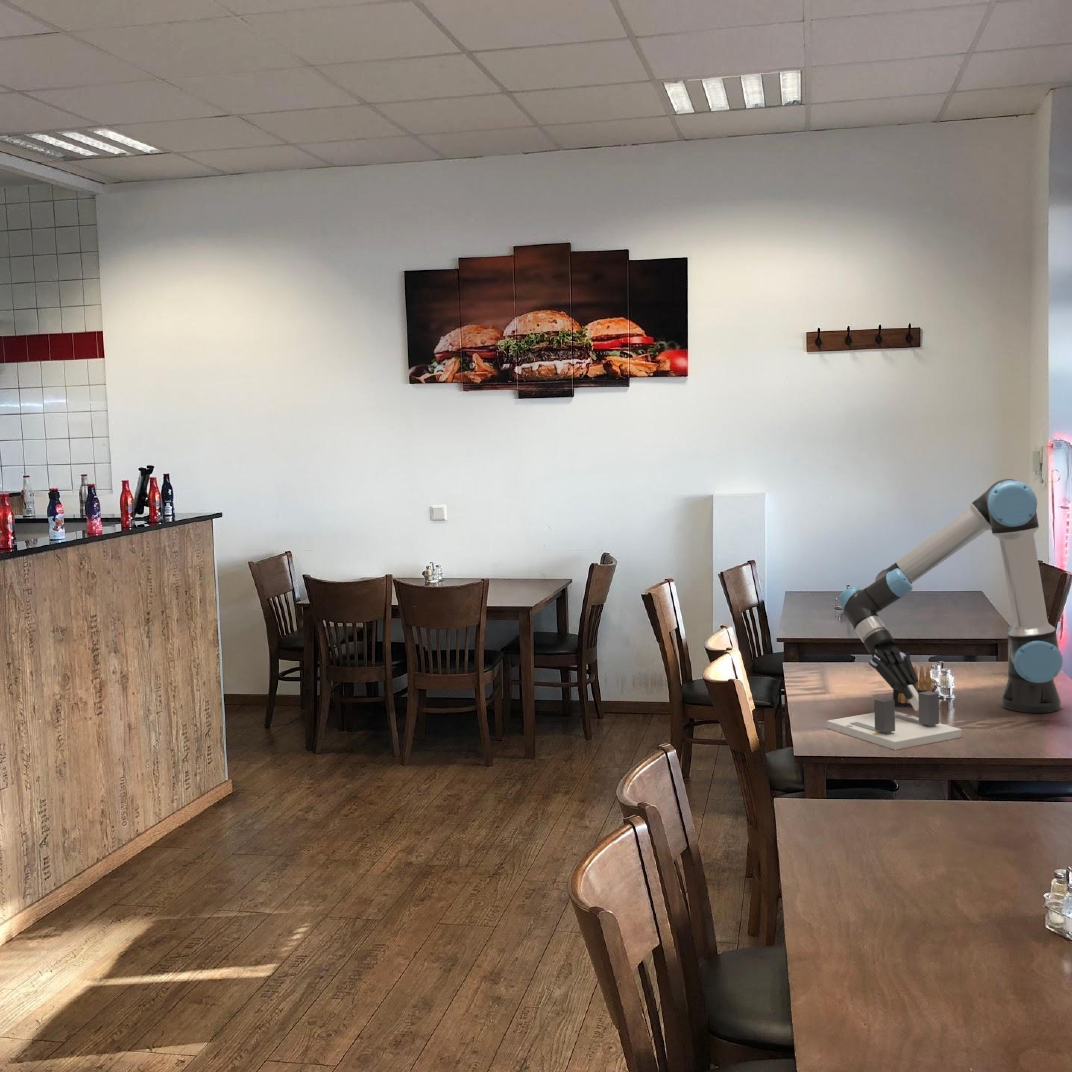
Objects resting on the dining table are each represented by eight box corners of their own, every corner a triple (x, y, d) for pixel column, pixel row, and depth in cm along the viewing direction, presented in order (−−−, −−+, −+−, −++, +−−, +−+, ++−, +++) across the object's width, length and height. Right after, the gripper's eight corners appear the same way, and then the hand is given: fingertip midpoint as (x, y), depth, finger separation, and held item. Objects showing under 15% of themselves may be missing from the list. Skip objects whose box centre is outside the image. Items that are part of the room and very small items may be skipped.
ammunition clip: (932, 707, 320) (931, 665, 319) (932, 708, 318) (931, 666, 317) (893, 705, 324) (892, 664, 323) (892, 706, 323) (891, 665, 322)
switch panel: (826, 728, 302) (826, 720, 302) (890, 716, 311) (890, 708, 311) (895, 749, 278) (894, 741, 278) (961, 737, 287) (961, 728, 287)
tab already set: (874, 730, 288) (874, 699, 287) (885, 728, 289) (884, 697, 289) (884, 732, 285) (883, 701, 284) (895, 731, 286) (894, 700, 286)
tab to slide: (918, 723, 293) (918, 692, 292) (929, 721, 294) (928, 691, 294) (928, 725, 290) (928, 695, 289) (939, 723, 291) (938, 693, 291)
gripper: (887, 642, 314) (932, 712, 300) (850, 647, 308) (894, 719, 295) (900, 625, 309) (946, 696, 295) (863, 630, 303) (908, 703, 289)
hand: (920, 708), depth 295 cm, fingers closed
